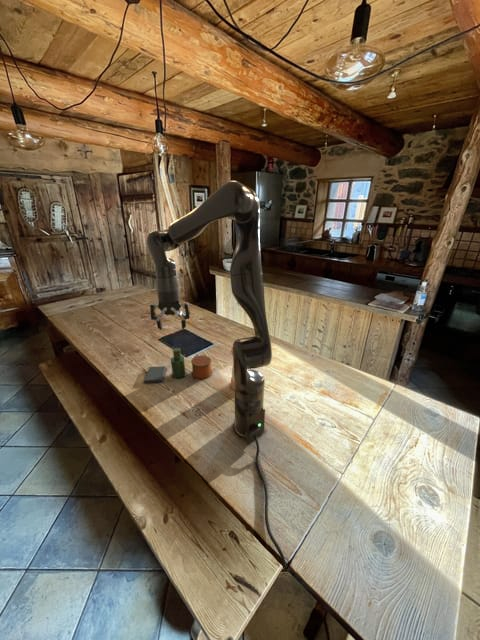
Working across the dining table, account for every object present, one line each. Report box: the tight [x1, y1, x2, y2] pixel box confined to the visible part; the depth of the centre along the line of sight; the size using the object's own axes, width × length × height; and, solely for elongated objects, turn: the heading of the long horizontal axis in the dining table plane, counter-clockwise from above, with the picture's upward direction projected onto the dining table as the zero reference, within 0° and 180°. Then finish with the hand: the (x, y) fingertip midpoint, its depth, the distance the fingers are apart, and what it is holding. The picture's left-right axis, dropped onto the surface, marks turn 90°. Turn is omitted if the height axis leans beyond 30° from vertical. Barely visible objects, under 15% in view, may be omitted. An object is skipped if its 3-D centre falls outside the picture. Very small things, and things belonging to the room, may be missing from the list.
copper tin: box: [190, 355, 212, 380], centre depth 115 cm, size 8×8×7 cm
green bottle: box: [170, 347, 187, 379], centre depth 113 cm, size 6×6×12 cm
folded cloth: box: [143, 365, 167, 384], centre depth 115 cm, size 10×7×1 cm
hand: (172, 328), depth 102 cm, fingers open, 8 cm apart
